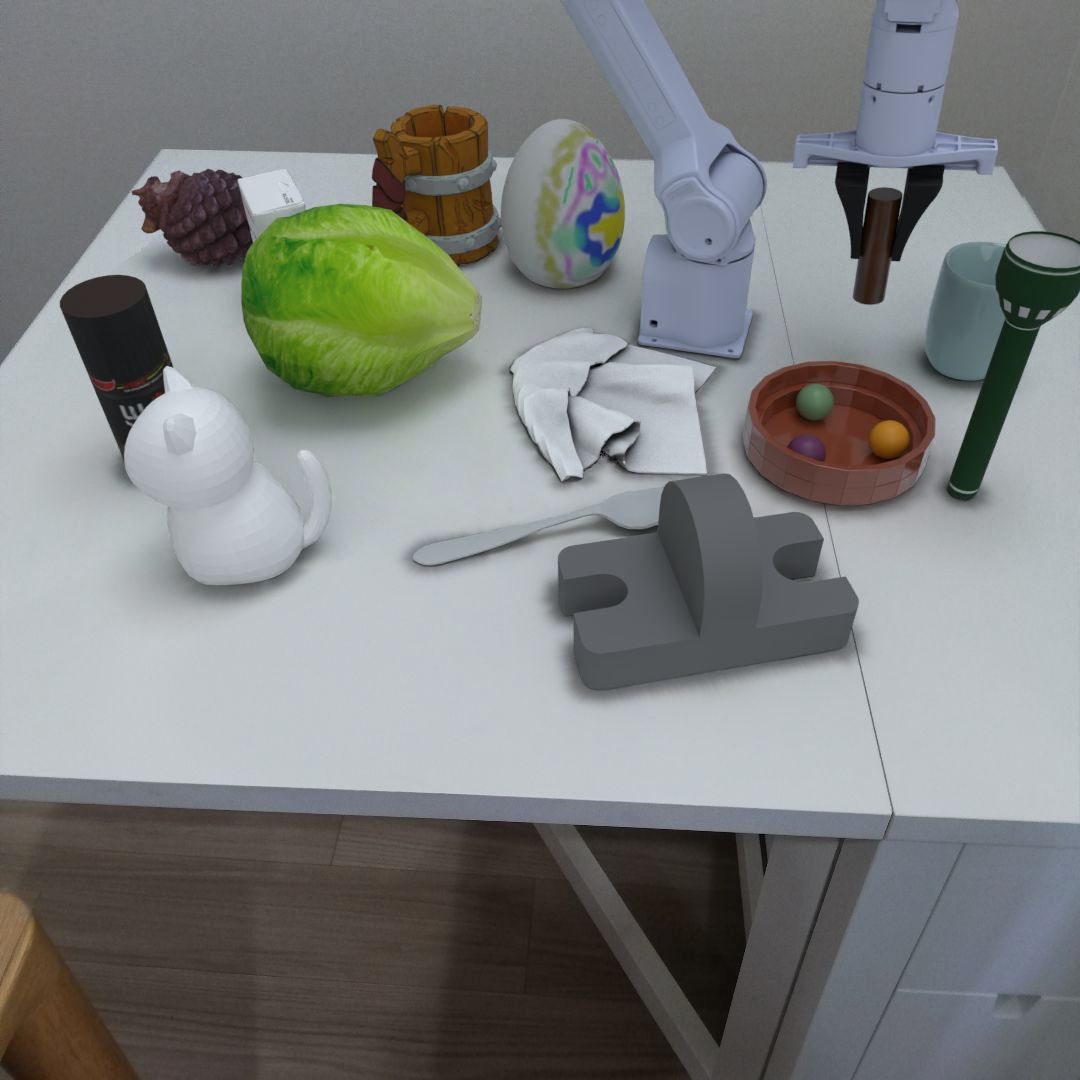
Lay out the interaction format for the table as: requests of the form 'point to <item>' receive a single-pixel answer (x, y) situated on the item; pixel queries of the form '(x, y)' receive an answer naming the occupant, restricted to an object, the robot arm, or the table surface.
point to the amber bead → (889, 439)
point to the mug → (440, 178)
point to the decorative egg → (562, 206)
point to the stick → (877, 245)
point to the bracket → (701, 590)
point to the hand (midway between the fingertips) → (875, 254)
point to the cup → (965, 312)
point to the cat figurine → (220, 487)
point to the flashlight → (1015, 339)
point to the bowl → (837, 433)
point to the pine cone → (198, 215)
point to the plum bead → (808, 447)
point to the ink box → (269, 199)
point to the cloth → (610, 404)
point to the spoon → (620, 509)
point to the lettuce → (353, 300)
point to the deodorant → (118, 346)
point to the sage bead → (814, 402)
